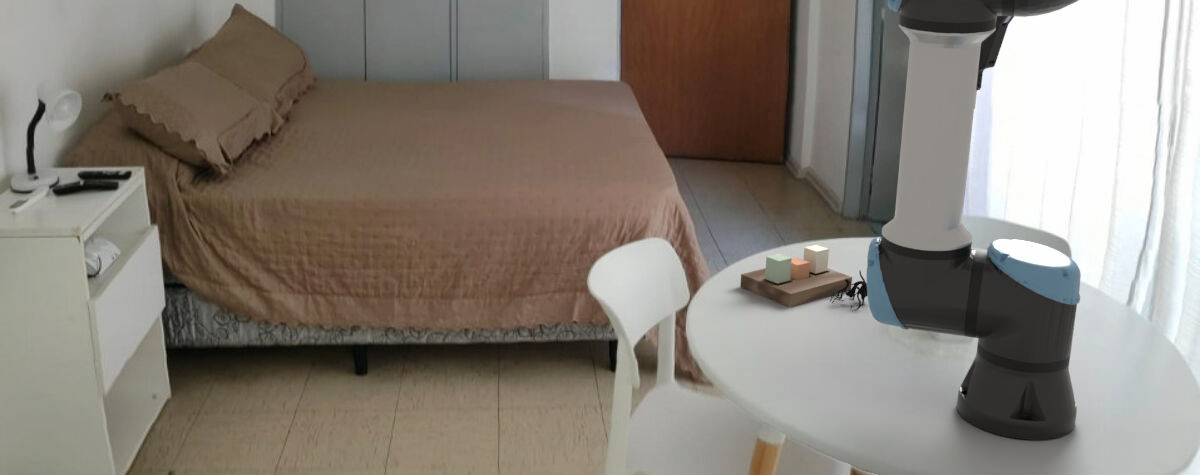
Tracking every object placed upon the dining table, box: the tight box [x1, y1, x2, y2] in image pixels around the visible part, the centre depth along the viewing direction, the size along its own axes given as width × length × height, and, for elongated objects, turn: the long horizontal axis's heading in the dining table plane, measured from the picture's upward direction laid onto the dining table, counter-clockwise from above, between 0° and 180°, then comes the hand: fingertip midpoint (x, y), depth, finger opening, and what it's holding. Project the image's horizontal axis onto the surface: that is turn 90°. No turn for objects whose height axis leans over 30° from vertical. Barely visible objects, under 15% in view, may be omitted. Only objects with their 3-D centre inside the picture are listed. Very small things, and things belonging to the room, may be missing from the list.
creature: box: [828, 269, 868, 312], centre depth 199 cm, size 8×5×8 cm
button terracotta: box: [790, 257, 810, 281], centre depth 206 cm, size 3×3×4 cm
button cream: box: [803, 244, 830, 274], centre depth 208 cm, size 3×3×4 cm
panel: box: [740, 267, 853, 308], centre depth 206 cm, size 12×15×2 cm
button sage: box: [765, 253, 793, 284], centre depth 203 cm, size 3×3×4 cm
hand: (966, 108), depth 196 cm, fingers closed
